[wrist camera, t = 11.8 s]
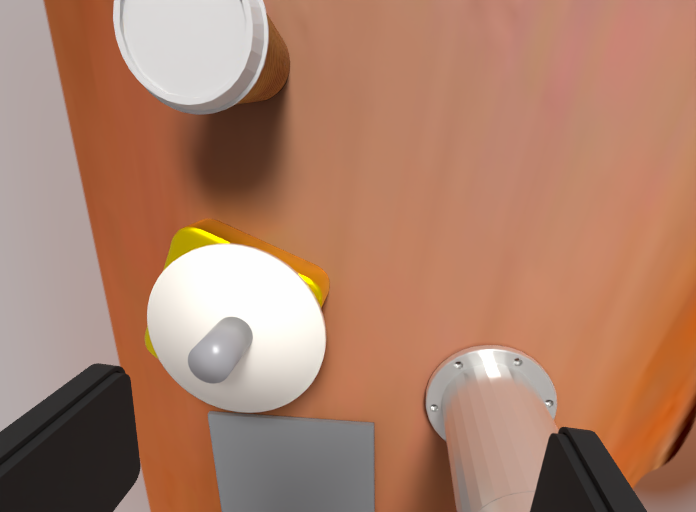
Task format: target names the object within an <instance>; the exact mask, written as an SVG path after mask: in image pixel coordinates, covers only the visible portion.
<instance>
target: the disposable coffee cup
mask: <svg viewBox="0 0 696 512" xmlns="http://www.w3.org/2000/svg"><path fill="white" fill-rule="evenodd" d="M113 21H114V28H115V34H116V39H117V42H118V45H119V48H120V51H121V54H122V56H123V58H124V60H125V62H126V63H127V65H128V67H129V69H130V70H131V72H132V73H133V74H134V75H135V77H136V78H137V79H138V80H139V81H140V82H141V83H142V84H143V85H144V87H145V88H146V89H147V90H148V91H149V92H150V93H151V94H152V95H153V96H155V97H156V98H157V99H158V100H159V101H161V102H162V103H164V104H166V105H168V106H170V107H171V108H173V109H176V110H179V111H181V112H185V113H191V114H211V113H216V112H219V111H223V110H226V109H228V108H229V107H231V106H233V105H235V104H242V103H249V102H257V101H264V100H267V99H270V98H271V97H273V96H274V95H276V94H277V93H278V92H279V91H280V90H281V89H282V87H283V86H284V85H285V82H286V80H287V78H288V74H289V69H290V59H289V53H288V49H287V46H286V44H285V43H284V41H283V39H282V37H281V36H280V34H279V32H278V31H277V29H276V28H275V26H274V24H273V22H272V21H271V19H270V18H269V16H268V15H267V13H266V9H265V5H264V2H263V0H114V12H113Z"/></svg>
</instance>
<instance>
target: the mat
mask: <svg viewBox="0 0 696 512" xmlns="http://www.w3.org/2000/svg"><path fill="white" fill-rule="evenodd" d="M208 420H209V427H210V434H211V441H212V447H213V454H214V461H215V468H216V475H217V482H218V489H219V495H220V502H221V509H222V512H375V492H374V423H371V422H357V421H342V420H328V419H314V418H300V417H285V416H271V415H257V414H243V413H228V412H214V411H209V413H208Z"/></svg>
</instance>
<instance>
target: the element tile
mask: <svg viewBox="0 0 696 512" xmlns="http://www.w3.org/2000/svg"><path fill="white" fill-rule="evenodd" d="M218 243H234V244H243V245H247V246H251V247H255V248H258V249H261V250H263V251H266V252H268V253H270V254H272V255H274V256H276V257H277V258H279V259H281V260H282V261H284V262H285V263H286V264H288V265H289V266H290V267H292V268H293V269H294V270H295V271H296V272H297V273H298V274H299V275H300V276H301V277H302V278H303V279H304V281H305V282H306V283H307V284H308V286H309V287H310V288H311V290H312V291H313V293H314V295H315V297H316V299H317V300H318V302H319V304H320V307H321V308H322V306H323V303H324V301H325V299H326V297H327V294H328V292H329V288H330V281H329V278H328V276H327V274H326V273H325V272H324V271H323V270H322V269H321V268H320V267H318V266H317V265H315V264H313V263H310V262H308V261H306V260H304V259H302V258H299V257H297V256H295V255H293V254H290V253H288V252H286V251H284V250H282V249H279V248H277V247H275V246H273V245H271V244H268V243H266V242H264V241H262V240H259V239H257V238H255V237H253V236H251V235H248V234H246V233H244V232H242V231H240V230H237V229H235V228H233V227H231V226H229V225H226V224H224V223H222V222H220V221H217V220H214V219H203V220H201V221H198V222H196V223H193V224H191V225H188V226H186V227H184V228H181V229H180V230H179V231H178V232H177V233H176V234H175V235H174V237H173V239H172V242H171V246H170V249H169V253H168V256H167V260H166V263H165V267H164V270H165V269H166V268H167V267H168V266H169V265H170V264H171V263H172V262H173V261H175V260H176V259H178V258H179V257H181V256H182V255H184V254H186V253H188V252H190V251H192V250H194V249H196V248H200V247H203V246H206V245H211V244H218ZM164 270H163V271H164ZM145 344H146V347H147V349H148V351H149V352H150V353H151V354H152V355H153V356H155V357H156V358H158V356H157V354H156V352H155V350H154V348H153V345H152V342H151V339H150V335H149V330H148V326H147V329H146V333H145ZM158 359H159V358H158Z"/></svg>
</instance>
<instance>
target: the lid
mask: <svg viewBox="0 0 696 512" xmlns="http://www.w3.org/2000/svg"><path fill="white" fill-rule="evenodd" d="M147 322H148V330H149V335H150V339H151V342H152V345H153V348H154V350H155V352H156V354H157V356H158V358H159V360H160V362H161V363H162V365H163V366H164V368H165V369H166V370H167V372H168V373H169V374H170V375H171V377H172V378H173V379H174V380H175V381H176V382H177V383H178V384H179V385H180V386H182V387H183V388H184V389H185V390H186V391H188V392H189V393H191V394H192V395H194V396H195V397H197V398H198V399H200V400H202V401H204V402H206V403H208V404H211V405H213V406H216V407H218V408H222V409H225V410H229V411H235V412H246V413H253V412H263V411H269V410H273V409H276V408H279V407H282V406H284V405H286V404H288V403H290V402H291V401H293V400H294V399H296V398H297V397H299V396H300V395H301V394H302V393H303V392H304V391H305V390H306V389H307V388H308V387H309V386H310V385H311V383H312V382H313V380H314V379H315V377H316V375H317V374H318V371H319V369H320V366H321V364H322V361H323V358H324V354H325V349H326V338H327V337H326V325H325V321H324V316H323V313H322V310H321V307H320V304H319V302H318V300H317V299H316V297H315V295H314V293H313V291H312V290H311V288H310V287H309V286H308V284H307V283H306V282H305V281H304V279H303V278H302V277H301V276H300V275H299V274H298V273H297V272H296V271H295V270H294V269H293V268H292V267H290V266H289V265H288V264H286V263H285V262H284V261H282V260H281V259H279V258H277V257H276V256H274V255H272V254H270V253H268V252H266V251H263V250H261V249H258V248H255V247H251V246H247V245H243V244H234V243H218V244H211V245H206V246H203V247H200V248H196V249H194V250H192V251H190V252H188V253H186V254H184V255H182V256H181V257H179V258H178V259H176V260H175V261H173V262H172V263H171V264H170V265H169V266H168V267H167V268H166V269H165V270H164V271H163V272H162V274H161V275H160V276H159V278H158V279H157V281H156V283H155V285H154V287H153V289H152V292H151V295H150V298H149V303H148V311H147Z"/></svg>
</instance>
